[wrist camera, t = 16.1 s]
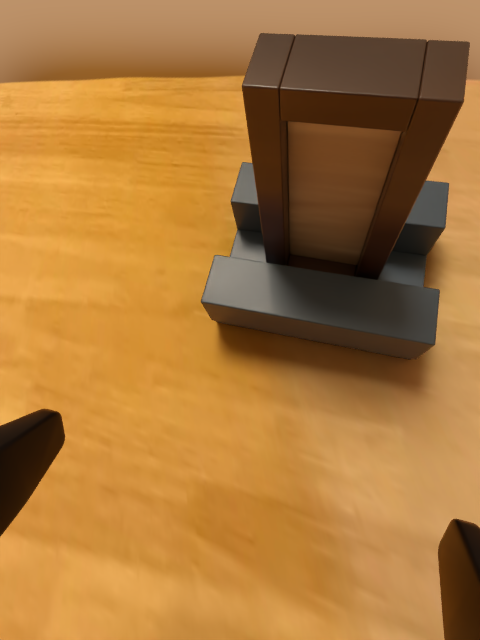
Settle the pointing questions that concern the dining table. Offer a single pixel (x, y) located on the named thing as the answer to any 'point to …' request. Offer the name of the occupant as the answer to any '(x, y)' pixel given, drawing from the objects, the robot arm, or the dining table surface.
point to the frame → (346, 141)
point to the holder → (331, 285)
